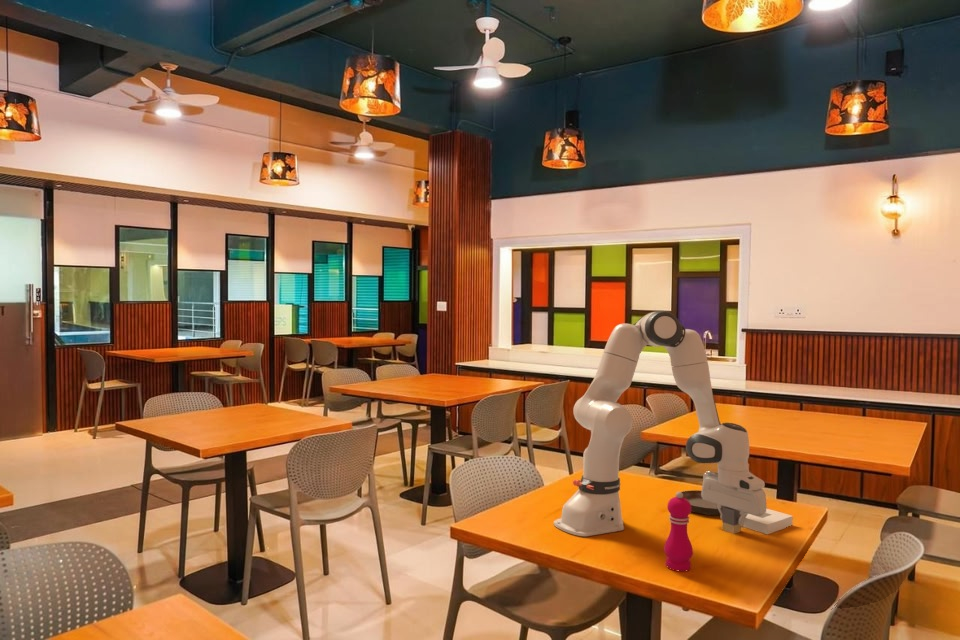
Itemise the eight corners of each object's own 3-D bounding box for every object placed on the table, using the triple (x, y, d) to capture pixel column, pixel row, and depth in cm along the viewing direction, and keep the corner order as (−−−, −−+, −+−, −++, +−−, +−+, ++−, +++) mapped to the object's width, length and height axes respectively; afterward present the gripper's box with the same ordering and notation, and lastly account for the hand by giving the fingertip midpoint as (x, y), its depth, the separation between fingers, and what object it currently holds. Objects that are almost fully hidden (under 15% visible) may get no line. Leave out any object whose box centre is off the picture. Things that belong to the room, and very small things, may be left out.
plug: (733, 533, 195) (734, 510, 195) (722, 529, 198) (722, 507, 198) (741, 531, 197) (742, 508, 197) (729, 527, 201) (730, 505, 200)
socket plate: (767, 534, 195) (767, 522, 195) (726, 521, 206) (726, 509, 206) (792, 525, 203) (792, 513, 203) (751, 513, 214) (751, 501, 214)
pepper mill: (686, 561, 174) (688, 487, 173) (696, 572, 167) (698, 495, 166) (660, 561, 174) (661, 487, 173) (669, 572, 167) (670, 495, 166)
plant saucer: (701, 495, 234) (702, 486, 234) (752, 511, 217) (753, 501, 217) (662, 504, 223) (662, 495, 223) (712, 522, 206) (713, 512, 206)
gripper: (697, 471, 204) (696, 514, 204) (757, 486, 187) (756, 534, 188) (709, 468, 207) (708, 510, 208) (769, 483, 191) (768, 529, 191)
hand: (732, 522), depth 198 cm, fingers closed on plug, 4 cm apart
